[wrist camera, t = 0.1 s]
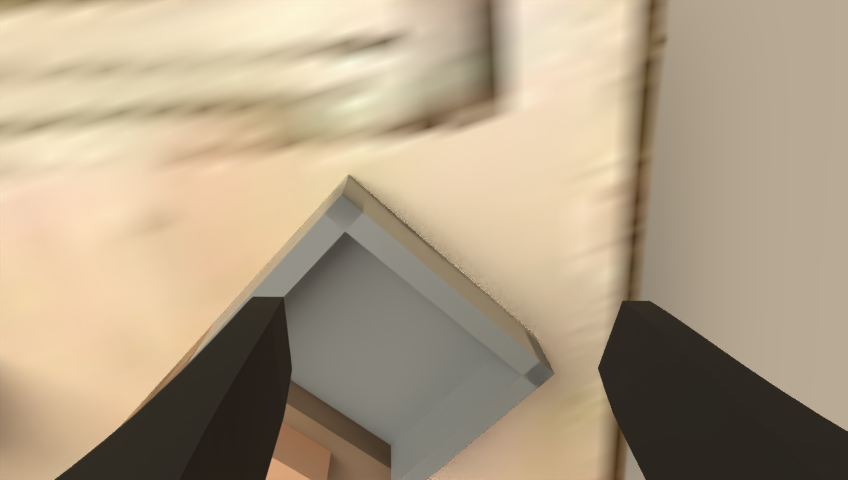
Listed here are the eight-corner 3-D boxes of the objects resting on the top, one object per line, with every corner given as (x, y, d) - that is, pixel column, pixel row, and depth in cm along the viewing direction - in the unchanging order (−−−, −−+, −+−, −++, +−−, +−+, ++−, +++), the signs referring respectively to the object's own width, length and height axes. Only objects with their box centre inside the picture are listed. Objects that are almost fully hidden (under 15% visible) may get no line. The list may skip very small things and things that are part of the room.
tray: (404, 447, 25) (406, 496, 22) (215, 322, 21) (188, 362, 18) (534, 335, 23) (554, 373, 20) (348, 174, 19) (341, 194, 16)
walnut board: (290, 546, 27) (282, 581, 25) (100, 448, 23) (75, 482, 21) (404, 447, 25) (405, 478, 23) (215, 322, 21) (198, 347, 19)
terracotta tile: (279, 498, 23) (269, 537, 21) (210, 460, 22) (193, 498, 20) (330, 452, 22) (325, 488, 20) (262, 409, 21) (249, 444, 19)
